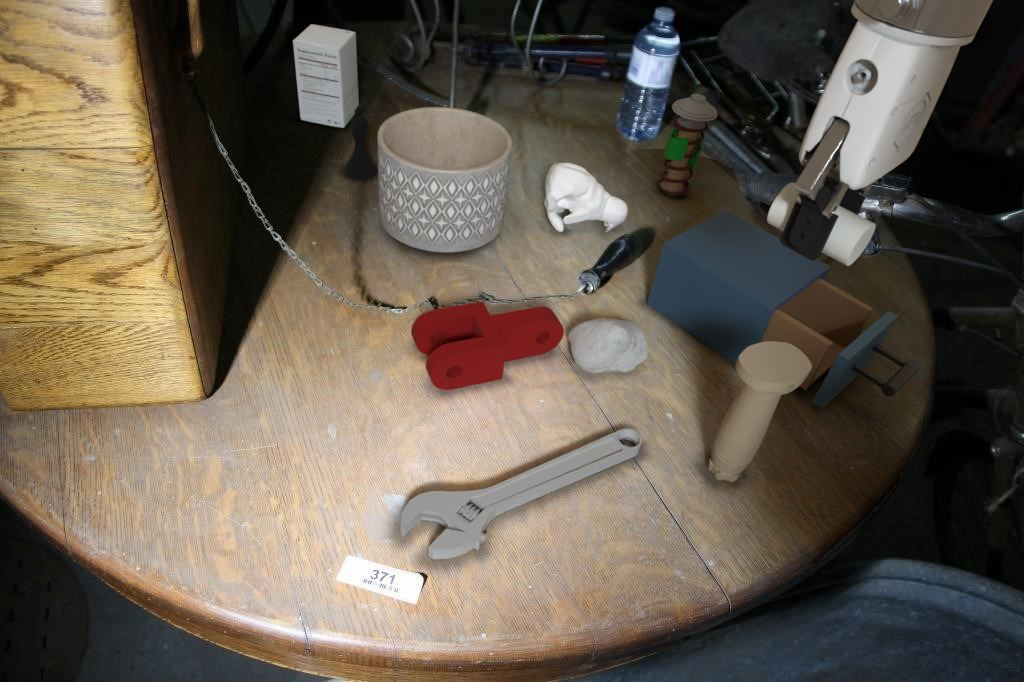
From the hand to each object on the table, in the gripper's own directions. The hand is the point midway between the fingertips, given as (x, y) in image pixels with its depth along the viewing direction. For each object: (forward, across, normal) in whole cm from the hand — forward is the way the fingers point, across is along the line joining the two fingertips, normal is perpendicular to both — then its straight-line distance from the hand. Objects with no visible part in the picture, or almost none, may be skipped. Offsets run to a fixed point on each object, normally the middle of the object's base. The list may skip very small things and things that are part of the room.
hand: (813, 239), depth 59 cm
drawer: (+25, +18, 0) cm, 31 cm away
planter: (+26, +3, +47) cm, 54 cm away
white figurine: (+26, +19, +36) cm, 48 cm away
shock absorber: (+26, +37, +33) cm, 56 cm away
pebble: (+26, 0, +16) cm, 30 cm away
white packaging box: (+26, +8, +81) cm, 85 cm away
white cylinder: (0, 0, 0) cm, 0 cm away
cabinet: (+26, +18, +12) cm, 34 cm away
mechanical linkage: (+26, -10, +24) cm, 36 cm away
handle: (+26, -2, -2) cm, 26 cm away
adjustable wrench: (+26, -19, +8) cm, 33 cm away
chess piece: (+26, +2, +64) cm, 69 cm away
